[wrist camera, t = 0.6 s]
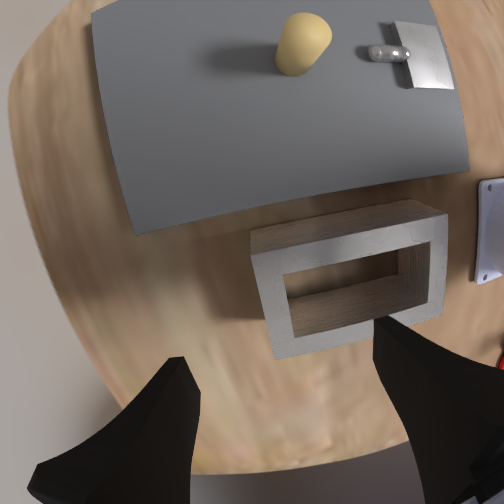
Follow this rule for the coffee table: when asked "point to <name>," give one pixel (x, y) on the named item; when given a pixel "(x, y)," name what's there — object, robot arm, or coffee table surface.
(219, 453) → the coffee table surface
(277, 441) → the coffee table surface
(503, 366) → the tow hook
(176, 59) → the board
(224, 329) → the coffee table surface
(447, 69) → the chain anchor
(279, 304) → the steel link
